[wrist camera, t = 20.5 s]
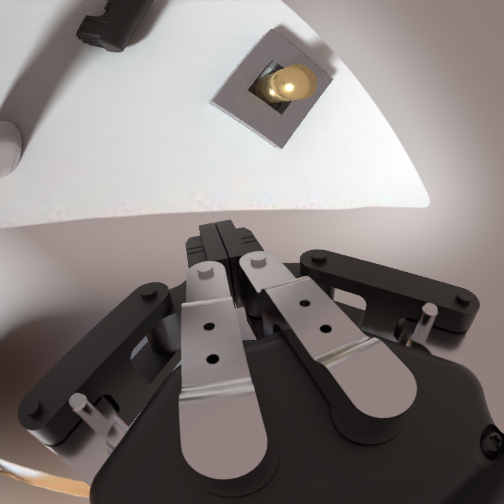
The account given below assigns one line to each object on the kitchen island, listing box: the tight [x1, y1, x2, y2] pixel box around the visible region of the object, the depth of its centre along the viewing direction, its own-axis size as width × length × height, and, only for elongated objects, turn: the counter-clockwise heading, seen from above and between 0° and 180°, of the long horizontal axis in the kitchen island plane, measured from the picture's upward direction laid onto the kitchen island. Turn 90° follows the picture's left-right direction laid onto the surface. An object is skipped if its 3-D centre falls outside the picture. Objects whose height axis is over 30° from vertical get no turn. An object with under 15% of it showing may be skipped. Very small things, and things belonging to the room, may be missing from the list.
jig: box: [209, 29, 333, 149], centre depth 34 cm, size 12×14×4 cm
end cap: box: [76, 0, 153, 52], centre depth 22 cm, size 10×7×7 cm
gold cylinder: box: [255, 64, 317, 103], centre depth 31 cm, size 4×4×11 cm
